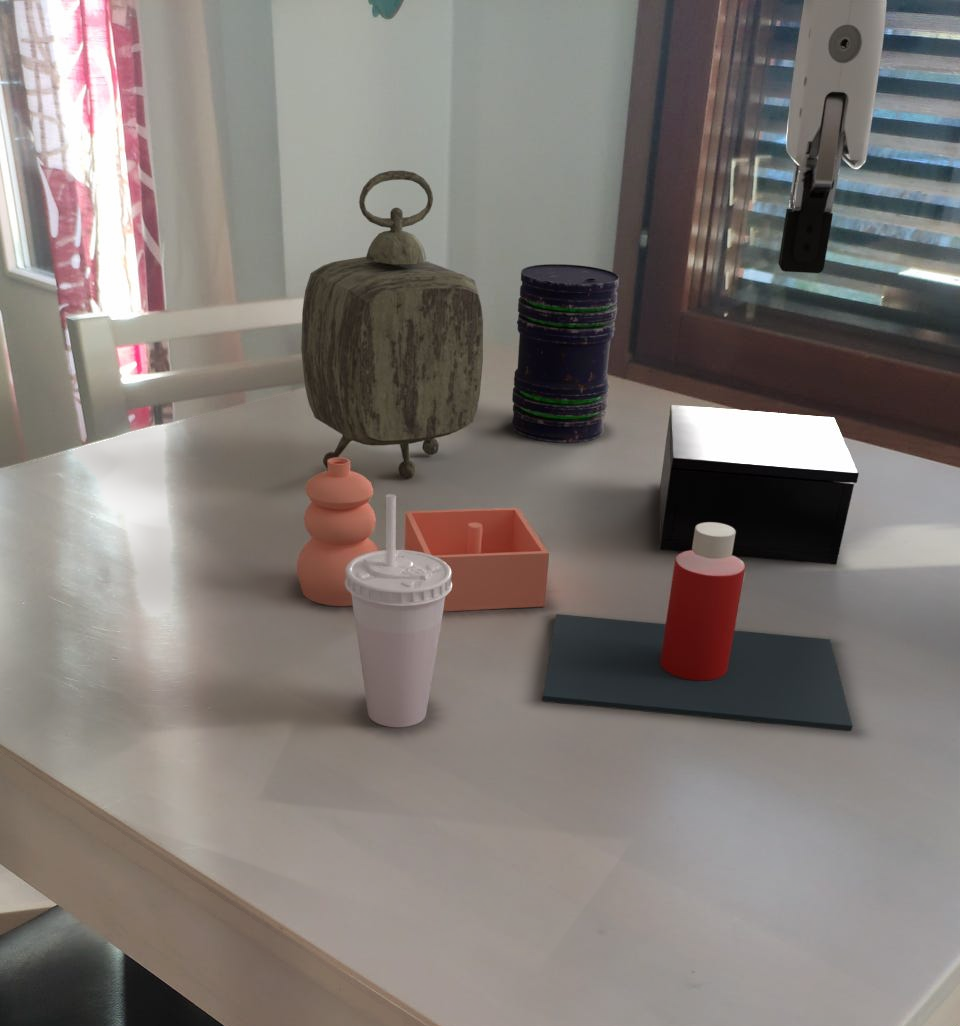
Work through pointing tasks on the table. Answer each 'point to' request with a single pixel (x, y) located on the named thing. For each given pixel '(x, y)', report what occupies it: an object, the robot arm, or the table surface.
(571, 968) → the table surface
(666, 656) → the ketchup
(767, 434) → the lid
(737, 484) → the box
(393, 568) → the smoothie
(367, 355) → the tabletop clock
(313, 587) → the pottery
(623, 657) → the mat
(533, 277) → the dark purple barrel
